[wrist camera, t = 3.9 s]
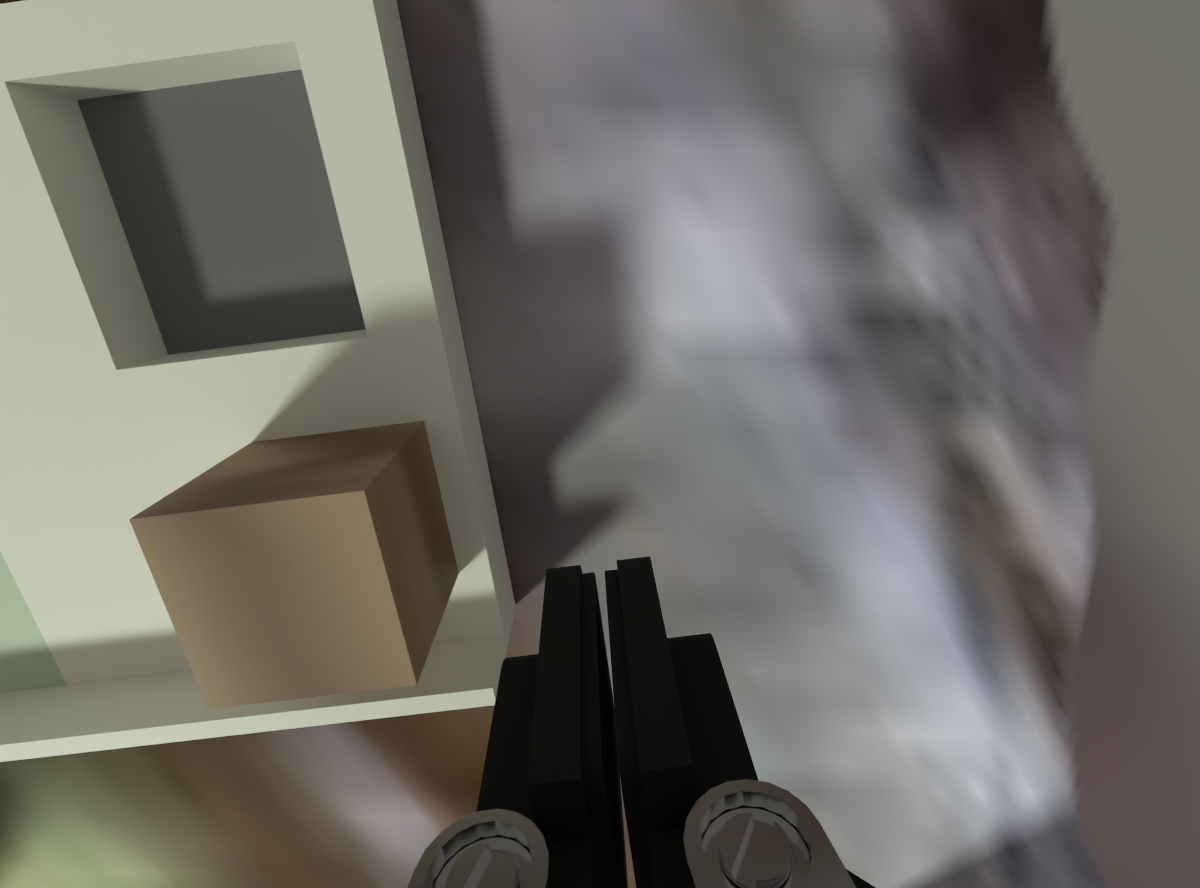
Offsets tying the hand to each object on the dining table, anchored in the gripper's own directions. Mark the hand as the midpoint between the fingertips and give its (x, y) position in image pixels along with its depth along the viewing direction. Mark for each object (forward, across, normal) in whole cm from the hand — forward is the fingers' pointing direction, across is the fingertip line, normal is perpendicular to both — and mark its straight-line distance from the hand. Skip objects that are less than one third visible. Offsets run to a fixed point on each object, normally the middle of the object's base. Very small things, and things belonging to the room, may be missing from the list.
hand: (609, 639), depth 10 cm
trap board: (+11, +15, -3) cm, 19 cm away
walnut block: (+8, +7, +1) cm, 11 cm away
